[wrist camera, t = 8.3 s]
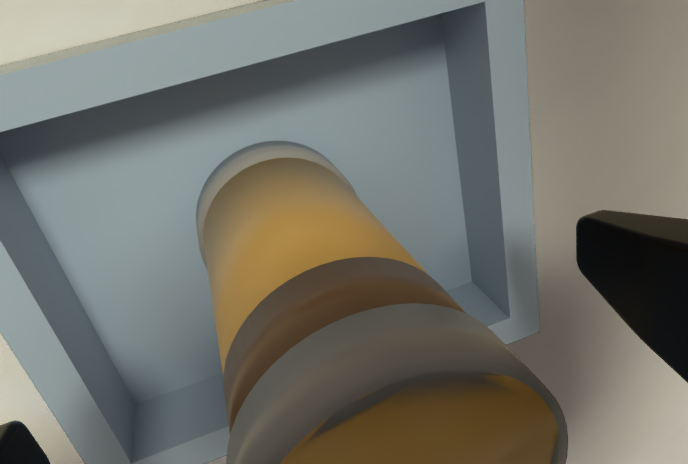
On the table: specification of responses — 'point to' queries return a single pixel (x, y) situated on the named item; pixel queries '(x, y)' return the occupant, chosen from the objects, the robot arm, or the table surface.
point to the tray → (215, 146)
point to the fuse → (350, 332)
